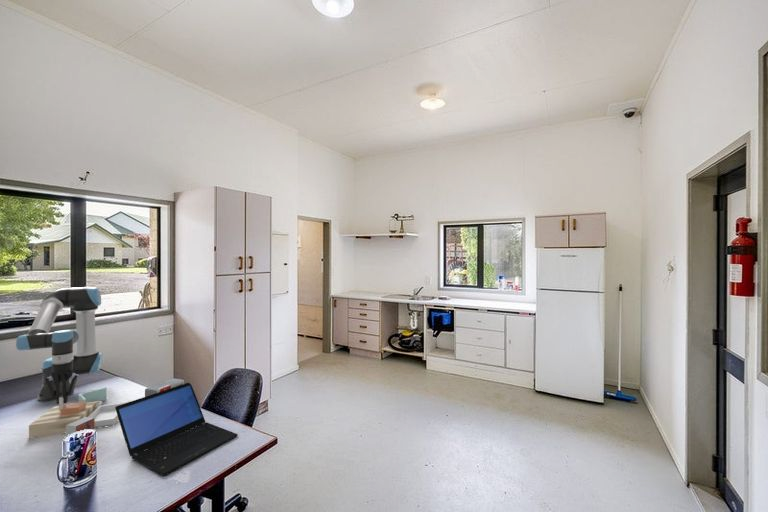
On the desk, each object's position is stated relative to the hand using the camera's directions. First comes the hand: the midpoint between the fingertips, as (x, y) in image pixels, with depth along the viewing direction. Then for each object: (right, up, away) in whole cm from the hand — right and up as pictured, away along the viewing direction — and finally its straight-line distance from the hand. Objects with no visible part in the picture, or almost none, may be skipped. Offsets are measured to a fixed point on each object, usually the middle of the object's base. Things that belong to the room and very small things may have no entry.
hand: (62, 409), depth 164 cm
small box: (+25, -8, -17) cm, 31 cm away
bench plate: (+1, -8, +1) cm, 8 cm away
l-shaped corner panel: (-2, -8, +21) cm, 23 cm away
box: (+17, -8, +6) cm, 19 cm away
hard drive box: (+50, -8, +1) cm, 51 cm away
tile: (+4, -2, +2) cm, 4 cm away
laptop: (+67, -8, -16) cm, 70 cm away
